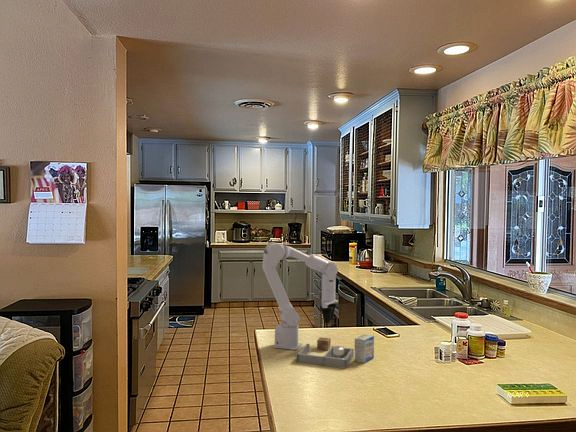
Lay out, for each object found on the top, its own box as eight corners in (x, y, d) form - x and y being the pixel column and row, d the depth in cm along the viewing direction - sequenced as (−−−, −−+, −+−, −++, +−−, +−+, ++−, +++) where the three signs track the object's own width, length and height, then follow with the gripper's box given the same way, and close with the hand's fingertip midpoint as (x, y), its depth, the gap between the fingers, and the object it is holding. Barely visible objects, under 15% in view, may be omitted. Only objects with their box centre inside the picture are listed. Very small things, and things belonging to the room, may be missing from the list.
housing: (296, 362, 171) (296, 354, 171) (307, 351, 184) (307, 343, 184) (346, 368, 165) (346, 360, 165) (353, 356, 178) (353, 348, 178)
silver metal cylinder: (331, 362, 171) (331, 348, 171) (334, 358, 176) (334, 345, 176) (342, 363, 170) (343, 350, 170) (345, 359, 174) (345, 346, 174)
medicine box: (364, 363, 170) (364, 340, 170) (354, 360, 173) (354, 338, 173) (374, 358, 176) (374, 335, 176) (363, 355, 179) (364, 333, 179)
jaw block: (317, 349, 186) (317, 340, 186) (319, 346, 190) (320, 337, 190) (327, 351, 185) (327, 341, 185) (330, 347, 189) (330, 338, 189)
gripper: (334, 293, 186) (333, 326, 186) (341, 287, 200) (341, 318, 200) (317, 292, 188) (317, 324, 189) (325, 286, 202) (325, 317, 202)
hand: (328, 321), depth 194 cm, fingers open, 5 cm apart
